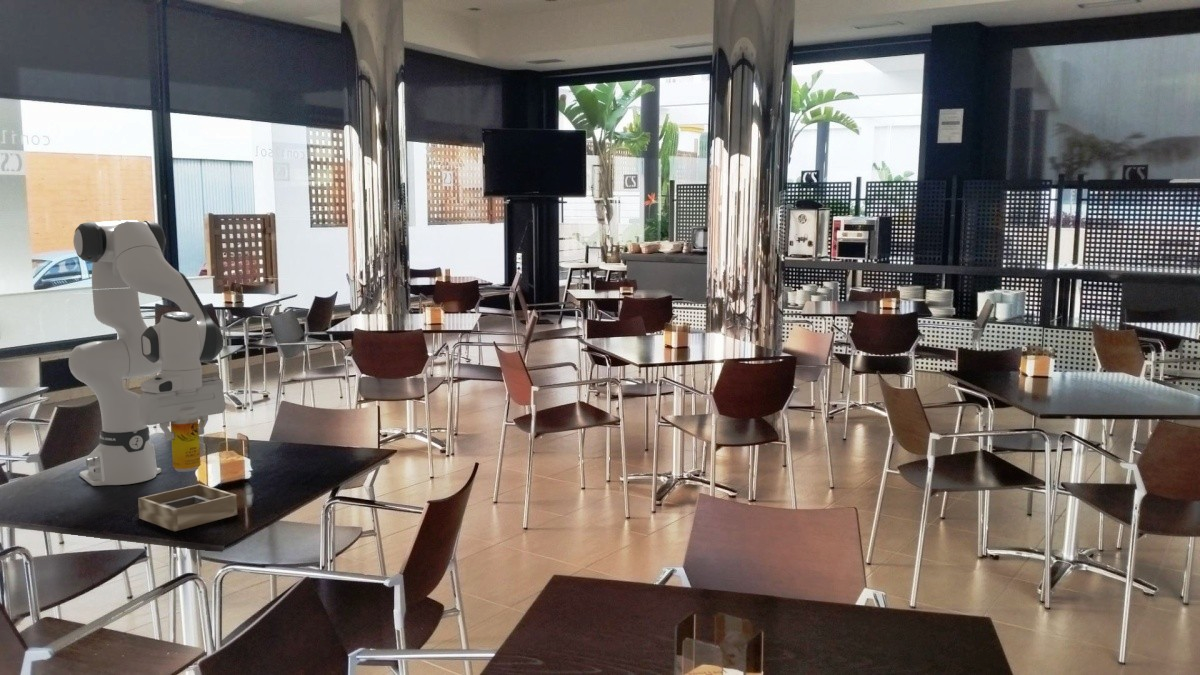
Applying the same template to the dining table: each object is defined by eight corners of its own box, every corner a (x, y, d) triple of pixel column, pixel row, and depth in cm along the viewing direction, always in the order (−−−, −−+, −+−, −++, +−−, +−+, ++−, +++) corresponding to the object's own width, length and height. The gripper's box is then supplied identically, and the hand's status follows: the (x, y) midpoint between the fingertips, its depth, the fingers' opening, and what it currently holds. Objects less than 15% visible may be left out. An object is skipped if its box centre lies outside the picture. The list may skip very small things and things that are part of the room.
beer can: (190, 472, 224) (187, 410, 222) (167, 471, 225) (164, 409, 224) (206, 466, 230) (202, 405, 228) (183, 465, 231) (180, 405, 229)
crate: (139, 518, 228) (138, 498, 227) (201, 502, 240) (200, 483, 240) (174, 531, 218) (173, 510, 217) (237, 514, 231) (236, 494, 230)
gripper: (214, 373, 235) (217, 428, 237) (133, 384, 219) (136, 443, 221) (229, 376, 232) (231, 431, 233) (147, 387, 215) (150, 446, 217)
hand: (184, 437), depth 227 cm, fingers closed on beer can, 6 cm apart
